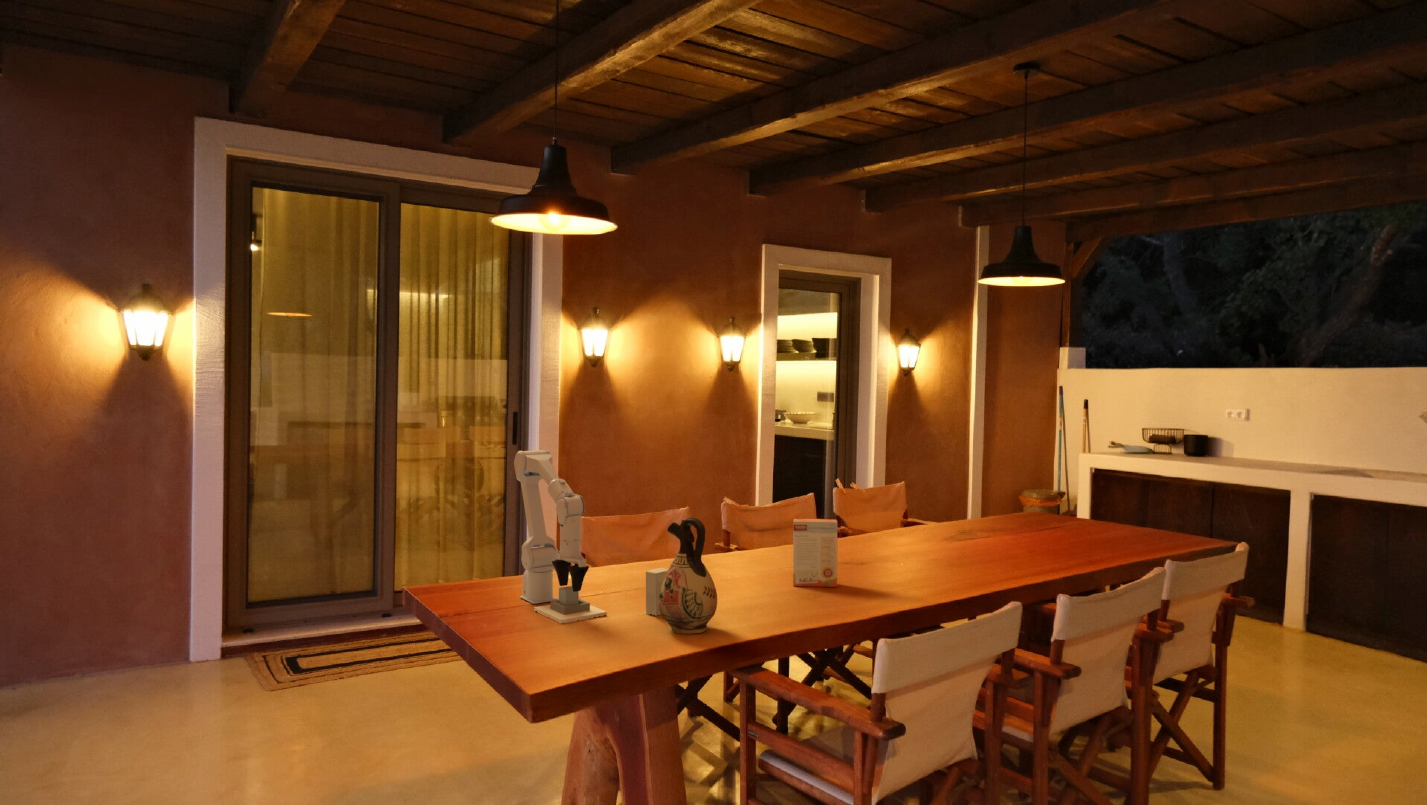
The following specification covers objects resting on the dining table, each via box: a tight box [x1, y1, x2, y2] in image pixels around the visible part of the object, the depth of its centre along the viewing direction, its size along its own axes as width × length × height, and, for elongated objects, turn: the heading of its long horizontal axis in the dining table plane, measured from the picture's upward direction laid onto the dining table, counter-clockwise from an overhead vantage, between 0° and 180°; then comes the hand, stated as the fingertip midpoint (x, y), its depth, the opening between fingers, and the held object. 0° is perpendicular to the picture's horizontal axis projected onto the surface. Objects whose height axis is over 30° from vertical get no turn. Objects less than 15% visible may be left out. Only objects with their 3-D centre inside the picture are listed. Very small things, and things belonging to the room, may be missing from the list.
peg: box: [558, 585, 580, 606], centre depth 247 cm, size 4×4×6 cm
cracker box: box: [792, 518, 838, 588], centre depth 283 cm, size 14×6×21 cm, turn 84°
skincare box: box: [645, 567, 669, 617], centre depth 248 cm, size 6×4×12 cm
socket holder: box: [533, 598, 608, 625], centre depth 247 cm, size 16×14×3 cm
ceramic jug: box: [659, 517, 718, 636], centre depth 231 cm, size 17×15×30 cm
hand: (570, 588), depth 247 cm, fingers open, 7 cm apart
